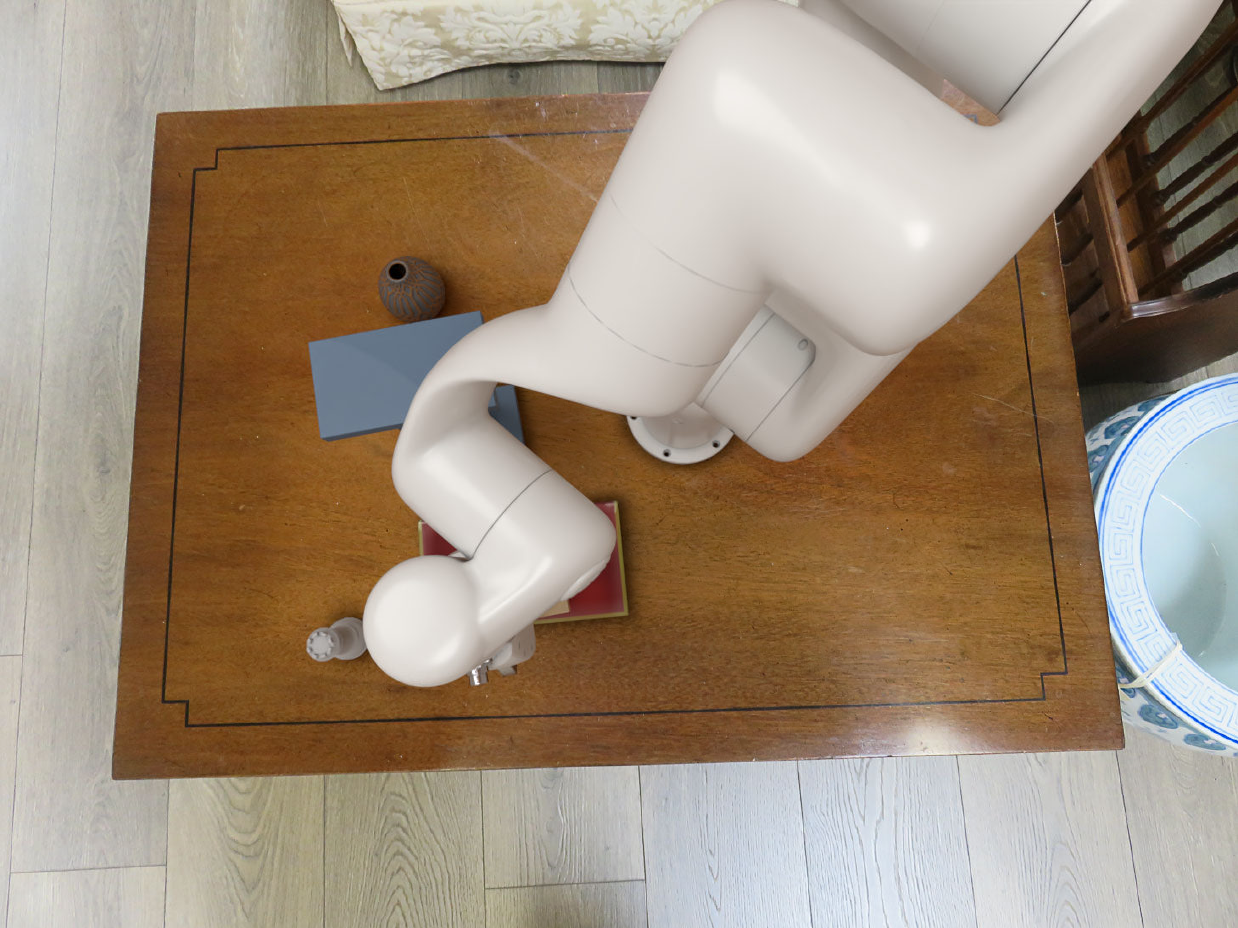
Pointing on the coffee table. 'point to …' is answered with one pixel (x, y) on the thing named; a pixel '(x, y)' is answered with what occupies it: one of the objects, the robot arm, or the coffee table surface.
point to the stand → (390, 376)
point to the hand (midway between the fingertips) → (511, 599)
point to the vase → (411, 289)
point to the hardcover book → (590, 603)
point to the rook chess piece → (337, 641)
